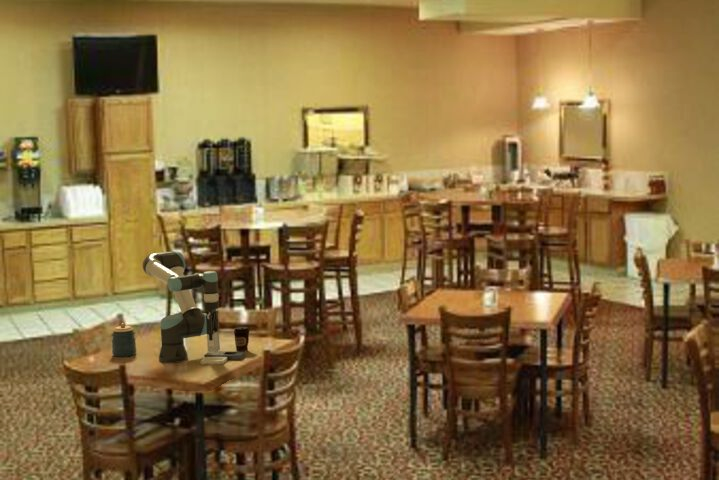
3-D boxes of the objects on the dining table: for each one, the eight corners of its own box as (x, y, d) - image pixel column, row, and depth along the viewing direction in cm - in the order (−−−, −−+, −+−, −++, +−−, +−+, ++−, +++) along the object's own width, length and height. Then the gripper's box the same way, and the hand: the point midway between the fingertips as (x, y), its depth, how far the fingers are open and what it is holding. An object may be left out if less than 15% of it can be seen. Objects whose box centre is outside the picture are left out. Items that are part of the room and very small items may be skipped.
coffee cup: (247, 353, 547) (246, 329, 546) (232, 352, 549) (231, 329, 547) (251, 349, 556) (251, 326, 554) (237, 349, 557) (236, 326, 556)
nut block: (207, 351, 525) (206, 332, 524) (210, 349, 530) (209, 330, 529) (217, 351, 524) (216, 332, 523) (219, 349, 529) (218, 330, 528)
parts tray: (200, 364, 524) (200, 360, 524) (205, 360, 533) (205, 356, 533) (222, 364, 523) (222, 361, 522) (227, 360, 531) (227, 356, 531)
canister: (107, 355, 550) (105, 323, 548) (127, 350, 560) (125, 319, 558) (121, 358, 542) (119, 326, 540) (141, 354, 551) (139, 322, 549)
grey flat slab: (204, 359, 534) (204, 354, 534) (209, 355, 543) (209, 351, 543) (240, 360, 531) (240, 355, 531) (245, 356, 540) (245, 351, 540)
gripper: (213, 304, 515) (215, 348, 517) (223, 298, 532) (225, 341, 535) (198, 304, 516) (201, 348, 518) (209, 298, 534) (211, 341, 536)
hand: (213, 344), depth 527 cm, fingers closed on nut block, 5 cm apart
